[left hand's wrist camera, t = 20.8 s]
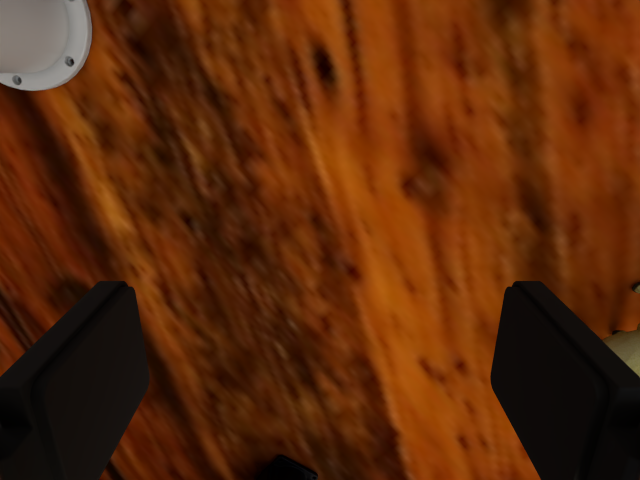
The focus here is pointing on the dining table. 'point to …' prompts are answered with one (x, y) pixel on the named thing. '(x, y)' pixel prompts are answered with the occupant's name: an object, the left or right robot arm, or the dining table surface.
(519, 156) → the dining table surface
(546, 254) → the dining table surface
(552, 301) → the left robot arm
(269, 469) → the right robot arm
